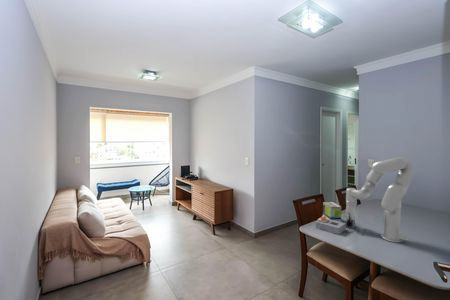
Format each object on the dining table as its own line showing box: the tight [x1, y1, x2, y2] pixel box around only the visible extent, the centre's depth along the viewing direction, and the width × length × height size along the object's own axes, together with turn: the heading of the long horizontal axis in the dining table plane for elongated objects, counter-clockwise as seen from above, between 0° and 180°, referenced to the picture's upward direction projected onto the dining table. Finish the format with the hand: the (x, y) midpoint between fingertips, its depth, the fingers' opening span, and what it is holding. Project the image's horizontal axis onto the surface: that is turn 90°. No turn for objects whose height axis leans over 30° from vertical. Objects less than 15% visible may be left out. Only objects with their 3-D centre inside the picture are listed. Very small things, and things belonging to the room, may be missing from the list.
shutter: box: [316, 215, 330, 223], centre depth 184 cm, size 7×7×3 cm
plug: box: [346, 216, 356, 230], centre depth 181 cm, size 5×5×9 cm
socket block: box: [315, 220, 347, 235], centre depth 180 cm, size 18×14×5 cm
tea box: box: [322, 201, 342, 222], centre depth 199 cm, size 15×10×15 cm
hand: (350, 224), depth 181 cm, fingers open, 6 cm apart
